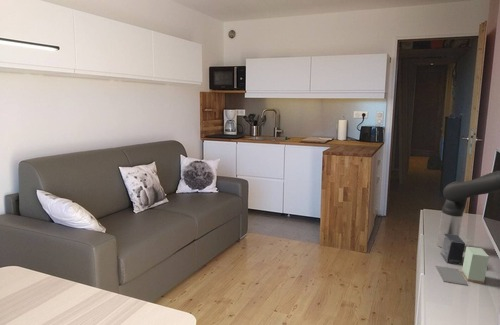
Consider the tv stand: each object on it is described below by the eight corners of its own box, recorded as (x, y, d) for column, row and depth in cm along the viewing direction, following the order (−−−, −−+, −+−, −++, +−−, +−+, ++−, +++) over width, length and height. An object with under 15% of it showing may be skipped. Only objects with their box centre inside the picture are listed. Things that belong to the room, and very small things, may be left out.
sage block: (461, 272, 164) (466, 246, 162) (476, 274, 163) (482, 248, 161) (467, 281, 157) (472, 254, 154) (483, 283, 156) (489, 256, 153)
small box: (462, 265, 171) (466, 243, 169) (446, 263, 173) (450, 241, 170) (454, 255, 182) (458, 234, 179) (440, 253, 183) (443, 232, 181)
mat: (435, 266, 168) (435, 265, 168) (457, 269, 167) (457, 269, 166) (443, 281, 155) (443, 280, 155) (467, 285, 153) (468, 284, 153)
